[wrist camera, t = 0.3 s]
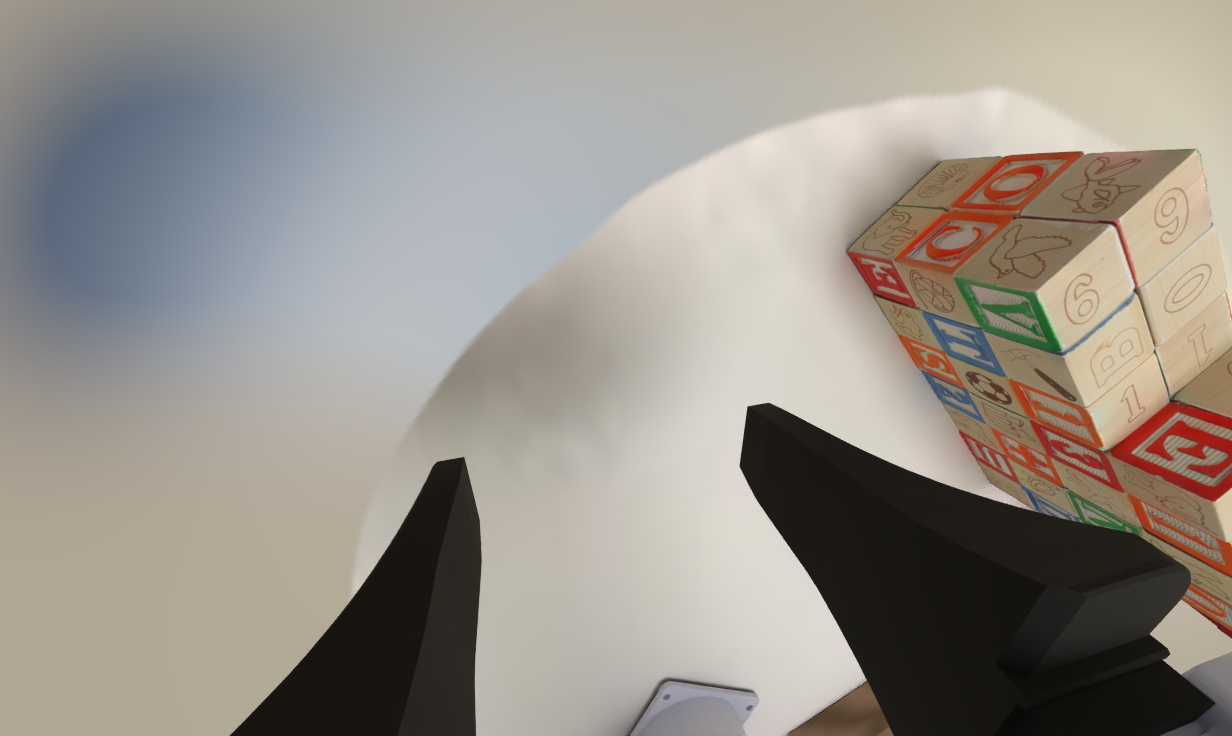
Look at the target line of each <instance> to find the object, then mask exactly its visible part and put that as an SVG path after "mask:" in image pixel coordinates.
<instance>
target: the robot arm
mask: <svg viewBox="0 0 1232 736" xmlns="http://www.w3.org/2000/svg"><path fill="white" fill-rule="evenodd" d="M740 468H741V470H742V472H743V474H744V476H745V478H746V480H747V482H748V484H749V486H750V488H751V490H752V492H753V494H754V496H755V498H756V499H757V501H758V502H759V504H760V505H761V507H762V508H763V510H764V511H765V513H766V514H767V516H768V517H769V518H770V520H771V521H772V523H773V524H774V526H775V527H776V529H777V530H778V531H779V533H780V534H781V536H782V537H783V538H784V540H785V541H786V543H787V544H788V546H789V547H790V548H791V550H792V551H793V553H794V554H795V556H796V557H797V558H798V560H799V561H800V563H801V564H802V565H803V567H804V568H805V570H806V571H807V573H808V574H809V576H810V577H811V579H812V581H813V582H814V584H815V585H816V587H817V588H818V590H819V592H820V594H821V595H822V597H823V599H824V601H825V602H826V604H827V606H828V608H829V610H830V611H831V613H832V615H833V617H834V618H835V620H836V622H837V624H838V626H839V627H840V629H841V631H842V633H843V635H844V637H845V639H846V641H847V643H848V644H849V646H850V648H851V650H852V652H853V654H854V656H855V658H856V659H857V661H858V663H859V665H860V667H861V669H862V671H863V673H864V675H865V677H866V679H867V681H868V683H869V685H870V687H871V690H872V692H873V694H874V696H875V698H876V700H877V702H878V704H879V706H880V708H881V710H882V712H883V714H884V716H885V718H886V721H887V723H888V725H889V727H890V729H891V731H892V734H893V736H1232V652H1231V653H1229V654H1226V655H1223V656H1220V657H1218V658H1215V659H1212V660H1210V661H1207V662H1204V663H1202V664H1199V665H1197V666H1195V667H1193V668H1191V669H1190V670H1188V671H1186V672H1185V673H1183V674H1182V675H1180V674H1179V673H1178V672H1177V671H1175V670H1174V669H1173V668H1172V667H1170V666H1169V665H1168V664H1167V663H1166V662H1164V661H1163V659H1166V658H1167V657H1168V656H1169V655H1170V653H1169V650H1168V648H1166V647H1165V646H1164V645H1163V644H1161V643H1160V642H1159V641H1157V640H1156V639H1155V638H1154V637H1152V636H1151V635H1150V633H1151V632H1152V631H1153V629H1154V628H1155V627H1156V626H1157V625H1158V624H1159V623H1160V622H1161V621H1162V620H1163V619H1164V617H1165V616H1166V615H1167V614H1168V613H1169V612H1170V611H1171V610H1172V609H1173V608H1174V607H1175V605H1176V604H1177V603H1178V602H1179V601H1180V600H1181V598H1182V597H1183V596H1184V595H1185V593H1186V592H1187V590H1188V588H1189V586H1190V584H1191V574H1190V570H1189V569H1188V568H1186V567H1185V566H1184V565H1183V564H1181V563H1180V562H1178V561H1176V560H1175V559H1173V558H1172V557H1170V556H1169V555H1167V554H1166V553H1164V552H1163V551H1161V550H1160V549H1158V548H1157V547H1155V546H1154V545H1152V544H1151V543H1149V542H1148V541H1146V540H1145V539H1143V538H1141V537H1140V536H1138V535H1136V534H1134V533H1130V532H1125V531H1120V530H1115V529H1110V528H1106V527H1101V526H1096V525H1091V524H1086V523H1081V522H1077V521H1072V520H1067V519H1063V518H1058V517H1054V516H1050V515H1047V514H1043V513H1039V512H1035V511H1031V510H1027V509H1023V508H1019V507H1016V506H1012V505H1009V504H1005V503H1002V502H998V501H995V500H991V499H988V498H985V497H982V496H979V495H976V494H972V493H969V492H966V491H963V490H960V489H957V488H954V487H951V486H948V485H945V484H943V483H940V482H937V481H934V480H932V479H929V478H927V477H924V476H922V475H919V474H916V473H914V472H911V471H909V470H906V469H904V468H901V467H899V466H897V465H894V464H892V463H890V462H887V461H885V460H883V459H881V458H879V457H876V456H874V455H872V454H870V453H868V452H866V451H863V450H861V449H859V448H857V447H855V446H853V445H851V444H849V443H847V442H845V441H843V440H841V439H839V438H837V437H835V436H833V435H831V434H829V433H827V432H825V431H824V430H822V429H820V428H818V427H816V426H814V425H812V424H810V423H808V422H806V421H805V420H803V419H801V418H799V417H797V416H795V415H793V414H791V413H789V412H787V411H785V410H783V409H781V408H779V407H777V406H775V405H773V404H770V403H765V404H759V405H753V406H748V407H747V415H746V422H745V430H744V437H743V444H742V452H741V459H740ZM481 562H482V558H481V536H480V519H479V515H478V511H477V507H476V503H475V499H474V495H473V491H472V487H471V483H470V479H469V474H468V470H467V466H466V462H465V458H464V457H461V458H456V459H450V460H445V461H439V462H436V464H435V465H434V466H433V467H432V469H431V472H430V474H429V476H428V478H427V480H426V482H425V484H424V486H423V488H422V490H421V492H420V493H419V495H418V497H417V499H416V501H415V503H414V504H413V506H412V508H411V510H410V512H409V513H408V515H407V517H406V518H405V520H404V522H403V524H402V525H401V527H400V529H399V530H398V532H397V534H396V535H395V537H394V539H393V540H392V542H391V543H390V545H389V546H388V548H387V549H386V551H385V552H384V554H383V555H382V557H381V558H380V560H379V561H378V563H377V565H376V566H375V568H374V569H373V571H372V572H371V574H370V575H369V576H368V578H367V579H366V581H365V582H364V583H363V585H362V586H361V588H360V589H359V590H358V592H357V593H356V594H355V596H354V597H353V598H352V600H351V601H350V602H349V604H348V605H347V606H346V607H345V609H344V610H343V611H342V613H341V614H340V615H339V616H338V618H337V619H336V620H335V621H334V623H333V624H332V625H331V626H330V627H329V629H328V630H327V631H326V632H325V633H324V635H323V636H322V637H321V638H320V639H319V640H318V642H317V643H316V644H315V645H314V646H313V648H312V649H311V650H310V651H309V652H308V654H307V655H306V656H305V657H304V658H303V659H302V660H301V661H300V663H299V664H298V665H297V666H296V667H295V668H294V669H293V670H292V672H291V673H290V674H289V675H288V676H287V677H286V678H285V679H284V680H283V681H282V682H281V683H280V684H279V685H278V686H277V688H276V689H275V690H274V691H273V692H272V693H271V694H270V695H269V696H268V697H267V698H266V699H265V700H264V701H263V702H262V703H261V704H260V705H259V706H258V707H257V708H256V709H255V711H253V712H252V714H251V715H250V716H249V717H248V718H247V719H246V720H245V721H244V722H243V723H242V724H241V725H240V726H239V727H238V728H237V729H236V730H235V731H234V732H233V733H232V734H231V735H230V736H476V719H475V653H476V638H477V624H478V609H479V594H480V579H481ZM758 702H759V699H758V696H757V695H756V694H755V693H750V692H743V691H736V690H729V689H722V688H715V687H709V686H702V685H695V684H688V683H681V682H674V681H668V682H666V683H664V684H663V685H662V687H661V688H660V690H659V691H658V693H657V695H656V696H655V698H654V699H653V701H652V702H651V704H650V705H649V707H648V708H647V710H646V711H645V713H644V715H643V716H642V718H641V719H640V721H639V722H638V724H637V725H636V727H635V728H634V730H633V731H632V733H631V735H630V736H746V734H745V732H744V729H743V727H742V725H743V723H744V722H745V721H746V719H747V718H748V717H749V715H750V714H751V712H752V711H753V710H754V708H755V707H756V706H757V704H758Z"/></svg>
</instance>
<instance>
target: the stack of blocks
mask: <svg viewBox="0 0 1232 736" xmlns="http://www.w3.org/2000/svg"><path fill="white" fill-rule="evenodd" d="M1212 219H1213V217H1212V213H1211V208H1210V203H1209V198H1208V192H1207V183H1206V178H1205V175H1204V173H1203V167H1202V161H1201V154H1200V153H1199V151H1198V150H1197V149H1180V150H1151V151H1131V152H1105V153H1090V154H1086V155H1084V153H1083V151H1076V152H1056V153H1037V154H1022V155H1009V156H1005V157H1000V156H996V157H983V158H968V159H953V160H943V161H942V162H941V163H940V164H939V165H938V166H937V167H935V168H934V169H933V170H932V171H931V172H930V173H929V174H928V175H927V176H926V177H924V178H923V179H922V180H921V181H920V182H919V183H918V184H917V185H916V186H915V187H914V188H913V189H912V190H911V191H910V192H909V193H907V194H906V195H905V196H904V197H903V198H902V199H901V200H900V201H899V202H898V203H897V204H896V205H895V206H894V207H892V208H891V209H890V210H888V211H887V212H886V213H885V214H884V215H883V216H882V217H881V218H880V219H879V220H878V221H877V222H876V223H875V224H874V225H873V226H872V227H871V228H870V229H868V230H867V231H866V232H865V233H864V234H863V235H862V236H861V237H860V238H859V239H858V240H857V241H856V242H855V243H854V244H853V245H852V246H851V247H850V248H849V249H848V251H847V252H848V254H849V256H850V258H851V259H852V260H853V262H854V263H855V265H856V267H857V268H858V270H859V271H860V273H861V274H862V276H863V277H864V279H865V280H866V282H867V284H868V285H869V286H870V288H871V290H872V291H873V292H874V293H875V295H874V297H875V299H876V301H877V303H878V304H879V306H880V307H881V309H882V311H883V312H884V314H885V315H886V317H887V318H888V320H889V322H890V323H891V325H892V326H893V328H894V329H895V331H896V332H897V333H898V334H899V337H900V339H901V341H902V343H903V344H904V346H905V347H906V349H907V351H908V352H909V354H910V356H911V357H912V359H913V360H914V362H915V363H916V365H917V367H918V368H919V369H921V370H922V372H923V374H924V376H925V377H926V378H927V380H928V382H929V383H930V385H931V387H932V388H933V390H934V391H935V393H936V394H937V396H938V398H939V399H940V400H941V401H942V403H943V405H944V407H945V408H946V410H947V411H948V413H949V414H950V416H951V418H952V419H953V421H954V423H955V424H956V426H957V427H958V428H959V433H960V434H961V436H962V438H963V439H964V441H965V442H966V444H967V446H968V447H969V449H970V450H971V452H972V454H973V455H974V457H975V458H976V460H977V462H978V464H979V466H980V467H981V469H982V471H983V472H984V474H985V475H986V477H987V479H988V480H989V482H990V483H991V484H993V485H994V486H996V487H997V488H999V489H1000V490H1002V491H1004V492H1006V493H1007V494H1009V495H1011V496H1012V497H1014V498H1016V499H1017V500H1019V501H1020V502H1022V503H1023V504H1025V505H1027V506H1028V507H1030V508H1031V509H1033V510H1035V511H1038V512H1040V513H1043V514H1047V515H1050V516H1054V517H1058V518H1063V519H1067V520H1072V521H1077V522H1081V523H1086V524H1091V525H1096V526H1101V527H1106V528H1110V529H1115V530H1120V531H1125V532H1130V533H1134V534H1136V535H1138V536H1140V537H1141V538H1143V539H1145V540H1146V541H1148V542H1149V543H1151V544H1152V545H1154V546H1155V547H1157V548H1158V549H1160V550H1161V551H1163V552H1164V553H1166V554H1167V555H1169V556H1170V557H1172V558H1173V559H1175V560H1176V561H1178V562H1180V563H1181V564H1183V565H1184V566H1185V567H1186V568H1188V569H1189V570H1190V574H1191V584H1190V586H1189V588H1188V590H1187V592H1186V593H1185V595H1184V596H1183V597H1182V598H1181V600H1183V601H1184V602H1186V603H1188V604H1189V605H1191V606H1192V607H1194V608H1196V609H1197V610H1199V611H1200V612H1202V613H1204V614H1206V615H1207V616H1209V617H1211V618H1212V619H1214V620H1215V621H1217V622H1218V623H1220V624H1222V625H1223V626H1225V627H1226V628H1228V629H1230V630H1231V631H1232V315H1231V311H1230V306H1229V301H1228V297H1227V293H1226V291H1225V290H1226V288H1227V281H1226V277H1225V272H1224V266H1223V261H1222V256H1221V250H1220V245H1219V239H1218V233H1217V228H1216V226H1215V224H1214V223H1212Z"/></svg>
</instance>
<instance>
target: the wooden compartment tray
mask: <svg viewBox="0 0 1232 736" xmlns="http://www.w3.org/2000/svg"><path fill="white" fill-rule="evenodd" d="M789 736H893V734H892V731H891V729H890V727H889V725H888V723H887V721H886V718H885V716H884V714H883V712H882V710H881V708H880V706H879V704H878V702H877V700H876V698H875V696H874V694H873V692H872V690H871V687H870V685H869V683H868V681H867V682H866V683H864V684H863V685H861V686H860V687H858V688H857V689H855V690H854V691H852V692H851V693H849V694H848V695H846V696H845V697H843V698H842V699H840V700H839V701H837V702H836V703H834V704H833V705H831V706H830V707H828V708H827V709H825V710H824V711H822V712H821V713H819V714H818V715H816V716H815V717H813V718H812V719H810V720H809V721H807V722H806V723H804V724H803V725H801V726H800V727H798V728H797V729H795V730H794V731H792V732H791V733H789Z"/></svg>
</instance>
